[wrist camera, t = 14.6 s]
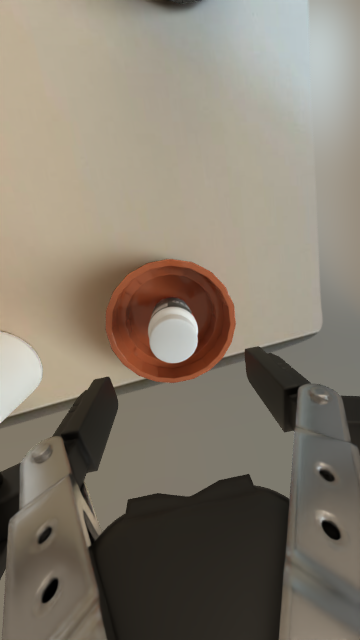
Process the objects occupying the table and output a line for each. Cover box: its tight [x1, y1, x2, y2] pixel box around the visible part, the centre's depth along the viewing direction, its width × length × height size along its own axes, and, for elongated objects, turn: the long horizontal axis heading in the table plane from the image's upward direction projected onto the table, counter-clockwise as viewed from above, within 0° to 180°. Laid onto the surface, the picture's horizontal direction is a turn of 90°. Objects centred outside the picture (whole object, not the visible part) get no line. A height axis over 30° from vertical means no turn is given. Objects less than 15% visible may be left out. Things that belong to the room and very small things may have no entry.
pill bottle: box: [148, 297, 198, 363], centre depth 19 cm, size 5×5×8 cm
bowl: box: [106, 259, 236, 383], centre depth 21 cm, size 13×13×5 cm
